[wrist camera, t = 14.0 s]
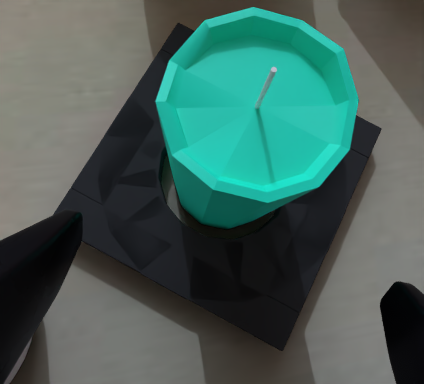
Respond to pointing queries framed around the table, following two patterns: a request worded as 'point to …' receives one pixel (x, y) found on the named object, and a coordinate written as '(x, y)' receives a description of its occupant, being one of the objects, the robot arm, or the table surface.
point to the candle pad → (197, 243)
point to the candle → (254, 115)
